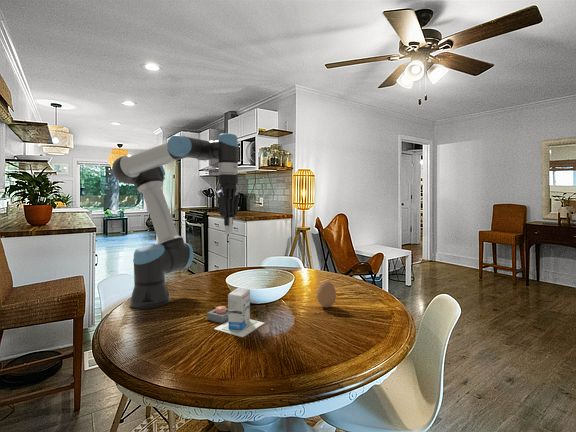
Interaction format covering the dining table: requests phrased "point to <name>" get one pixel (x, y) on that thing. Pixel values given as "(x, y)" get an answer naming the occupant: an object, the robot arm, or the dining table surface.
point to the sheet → (246, 330)
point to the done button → (221, 310)
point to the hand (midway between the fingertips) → (228, 233)
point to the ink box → (239, 308)
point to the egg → (326, 294)
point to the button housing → (217, 316)
